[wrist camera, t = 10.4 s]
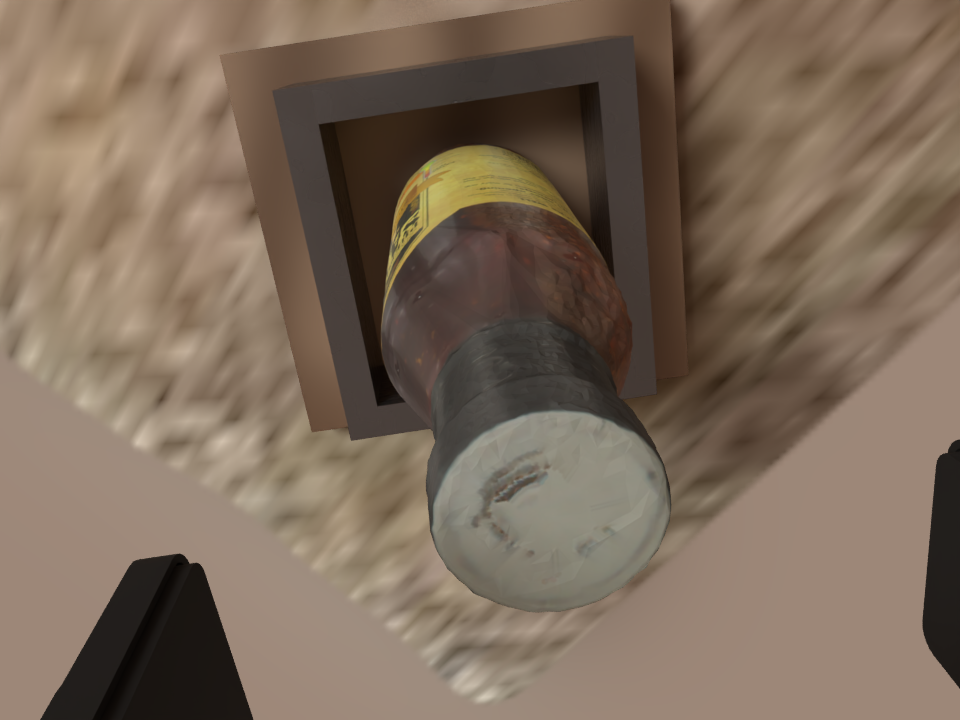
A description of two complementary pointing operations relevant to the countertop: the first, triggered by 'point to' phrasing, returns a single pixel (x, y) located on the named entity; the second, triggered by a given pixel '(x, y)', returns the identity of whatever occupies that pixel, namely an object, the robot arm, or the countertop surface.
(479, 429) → the sauce bottle
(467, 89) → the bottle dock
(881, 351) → the countertop surface
